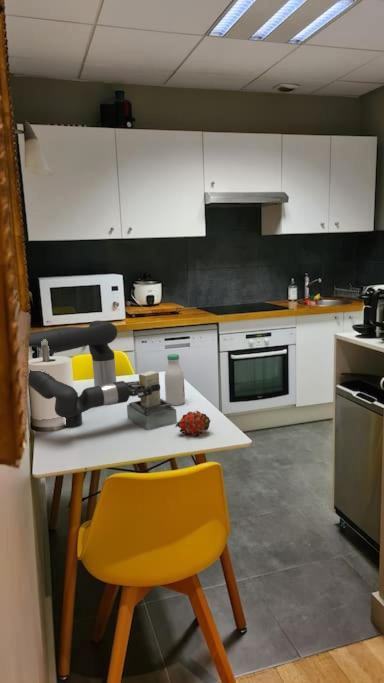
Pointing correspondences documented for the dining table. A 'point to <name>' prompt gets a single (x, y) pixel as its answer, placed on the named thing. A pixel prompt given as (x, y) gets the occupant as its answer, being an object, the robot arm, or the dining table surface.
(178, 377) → the milk bottle
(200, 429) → the dragon fruit
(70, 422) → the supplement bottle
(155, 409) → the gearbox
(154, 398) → the skincare box
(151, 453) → the dining table surface
